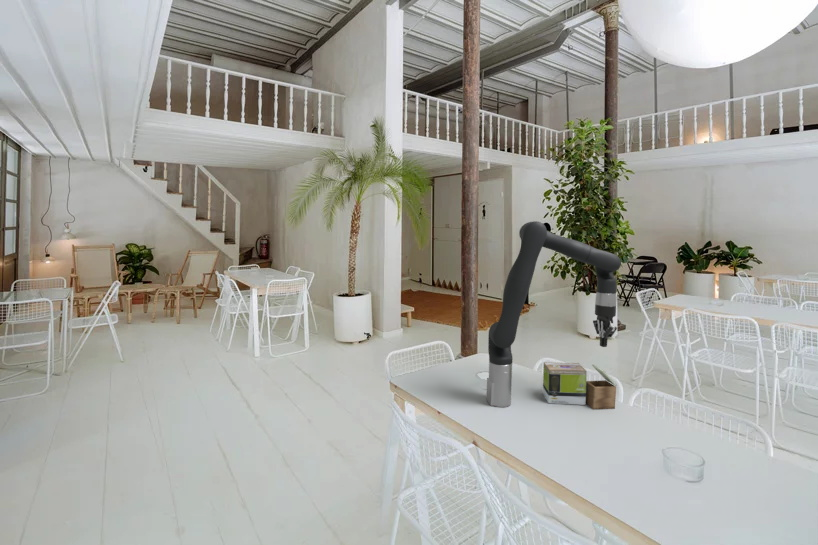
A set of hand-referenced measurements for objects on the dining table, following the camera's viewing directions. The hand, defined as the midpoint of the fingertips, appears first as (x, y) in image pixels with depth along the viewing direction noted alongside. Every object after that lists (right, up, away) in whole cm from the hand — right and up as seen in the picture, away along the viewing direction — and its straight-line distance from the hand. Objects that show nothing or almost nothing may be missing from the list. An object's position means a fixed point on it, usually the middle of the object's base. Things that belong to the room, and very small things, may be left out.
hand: (603, 346), depth 163 cm
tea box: (-13, -24, +8) cm, 28 cm away
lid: (+1, -12, +1) cm, 12 cm away
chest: (0, -24, +3) cm, 25 cm away
